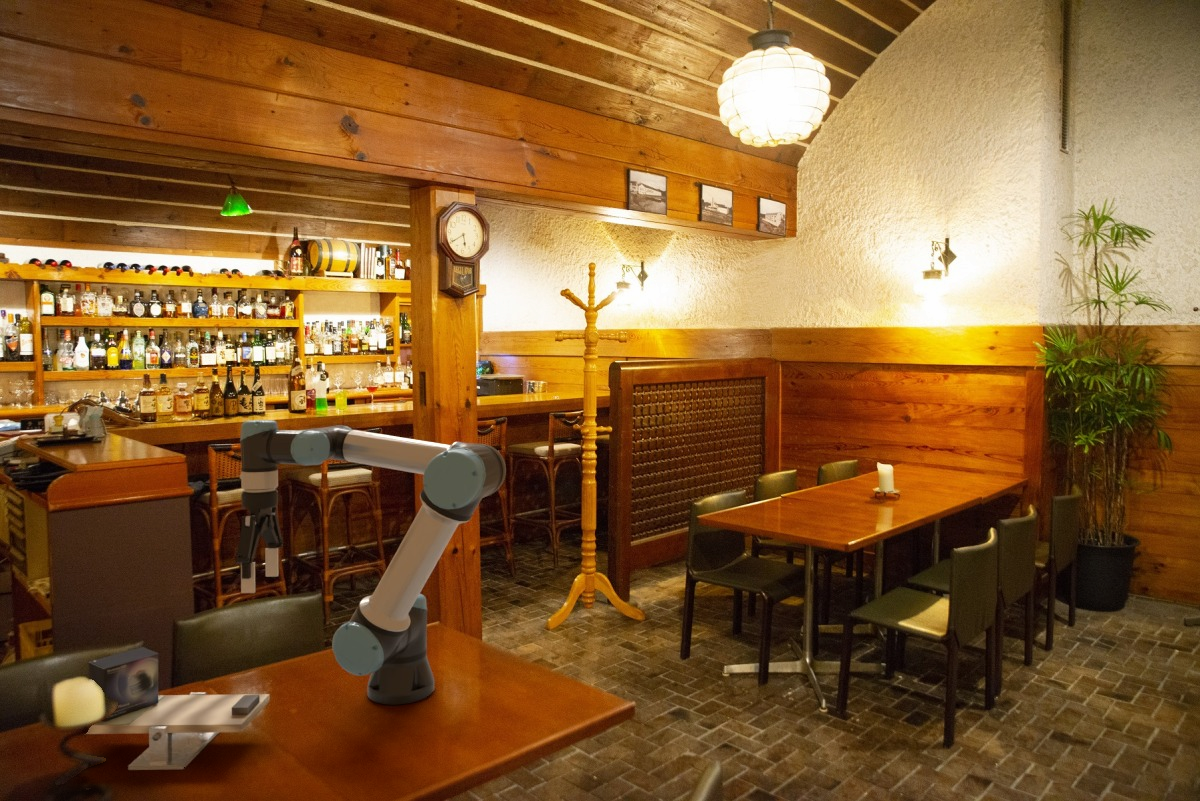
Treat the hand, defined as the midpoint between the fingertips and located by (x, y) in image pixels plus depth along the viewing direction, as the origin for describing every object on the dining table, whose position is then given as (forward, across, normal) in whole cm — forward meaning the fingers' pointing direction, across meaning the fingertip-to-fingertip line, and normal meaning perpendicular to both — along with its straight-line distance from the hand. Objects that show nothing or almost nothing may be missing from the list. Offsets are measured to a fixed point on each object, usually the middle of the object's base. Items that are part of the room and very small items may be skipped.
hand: (260, 584), depth 177 cm
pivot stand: (+27, +21, -8) cm, 35 cm away
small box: (+19, +21, -18) cm, 34 cm away
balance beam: (+21, +21, -8) cm, 31 cm away
